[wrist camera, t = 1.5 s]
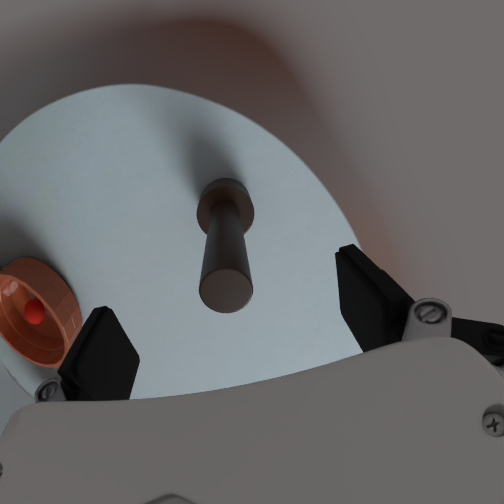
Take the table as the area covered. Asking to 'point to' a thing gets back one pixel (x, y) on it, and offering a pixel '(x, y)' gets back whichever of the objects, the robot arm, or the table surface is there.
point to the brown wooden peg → (225, 245)
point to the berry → (34, 311)
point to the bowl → (55, 305)
